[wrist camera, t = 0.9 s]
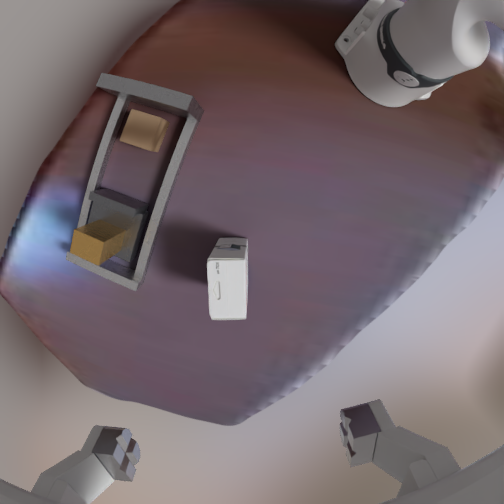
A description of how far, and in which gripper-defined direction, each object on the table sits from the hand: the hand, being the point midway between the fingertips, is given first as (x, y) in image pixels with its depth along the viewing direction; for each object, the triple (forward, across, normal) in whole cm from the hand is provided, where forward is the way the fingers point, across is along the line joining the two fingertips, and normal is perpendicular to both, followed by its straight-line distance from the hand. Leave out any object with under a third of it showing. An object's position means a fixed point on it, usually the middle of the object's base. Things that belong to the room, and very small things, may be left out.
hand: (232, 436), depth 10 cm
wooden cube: (+40, +12, -18) cm, 45 cm away
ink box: (+40, +2, +5) cm, 40 cm away
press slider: (+40, +20, -5) cm, 45 cm away
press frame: (+40, +16, -11) cm, 44 cm away
